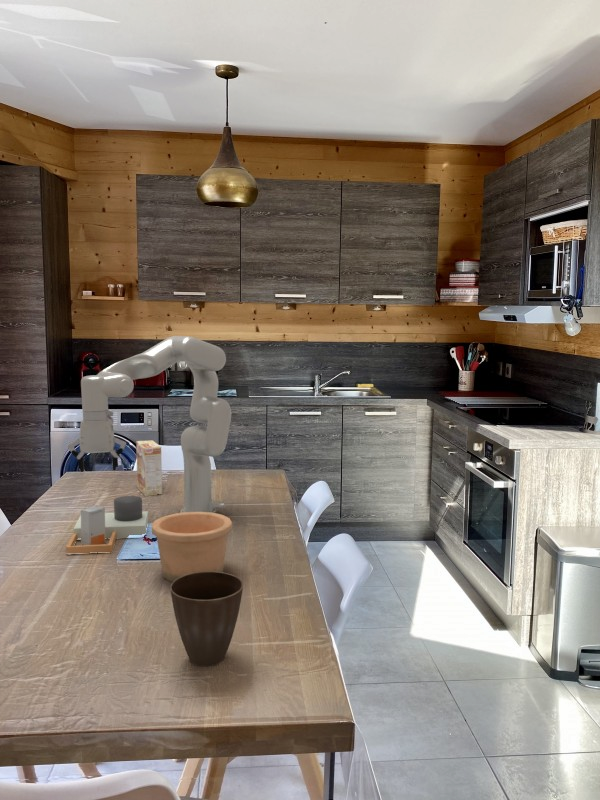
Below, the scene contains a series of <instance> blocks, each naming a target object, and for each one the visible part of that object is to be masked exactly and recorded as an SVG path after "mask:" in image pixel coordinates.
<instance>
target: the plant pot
mask: <svg viewBox="0 0 600 800" xmlns="http://www.w3.org/2000/svg"><path fill="white" fill-rule="evenodd" d="M169 587H170V588H169V589H170V595H171V596H170V597H171V600H172V601H171V602H172V606H173V607H172V608H173V613H174V617H175V622H176V624H177V625H176V626H177V629H178V631H179V635H180V639H181V642H182V645H183V647H184V649H185V652H186V655H187V657H188V659H189V661H190V662H191V663H192V664H194V665H195V666H200V667H210V666H211V667H212V666H215V665H218V664H220V663H222V662H223V661H224V659H225V657H226V655H227V652H228V649H229V647H230V645H231V641H232V638H233V635H234V632H235V630H236V629H235V628H236V625H237V621H238V616H239V613H240V612H239V611H240V609H241V608H240V607H241V603H242V596H243V590H244V582H243V581H242V579H241V578H240V577H238V576H236V575H234V574H232V573H227V572H224V571H223V572H197V573H191V574H188V575H184V576H182V577H180V578H178V579H176V580H175V581H174V582H171V584H170V585H169Z"/></svg>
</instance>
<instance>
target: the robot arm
mask: <svg viewBox="0 0 600 800" xmlns="http://www.w3.org/2000/svg"><path fill="white" fill-rule="evenodd" d="M178 362H184V363H185V364H186V366H188V368H189V369H190V372H191V373H192V376H193V379H194V380H193V381H194V385H193V391H192V397H191V402H190V409H189V415H190V418H191V419H192V420H193V421H194V422H196V423H200V424H206V427H204V426H199V425H198V426H197V425H192V426H187V428H185V429H184V430H183V431H182V433H181V436H180V445H181V446H180V447H181V450H182V451H181V452H182V457H183V458H182V459H183V482H184V484H183V486H184V487H183V489H184V497H183V498H184V508H182V509H181V510H180V512H179V513H183V512H211V513H216V514H217V510H218V509H219V510H220V509H221V510H223V509H225V503H224V502H222V503H221V501H219V502H215V501H213V498H212V463H211V459H210V457H212V458H215V457H216V458H217V457H219V456H221V455H222V454H223V453H224V451H225V449H226V447H227V443H228V437H229V432H230V427H231V421H232V410H231V405H230V403H229V402H228V401H227V400H226V399H223V398H220V397H218V393H219V392H218V391H219V377H218V375H217V371H220V370H222V369H223V368H224V366H225V365H226V362H227V356H226V352H225V351H224V350H223V348H221V347H219V346H217V345H215V344H212V343H209V342H207V341H204V340H202V339H199V338H196V337H194V336H189V335H172V336H169V337H167V338H165V339H164V340H162V341H160V342H159V343H156V344H155V345H154V346H151V347H150V348H148V349H147V350H145V351H142V353H138V354H136V355H133V356H130V357H128V358H125V359H123V360H119V361H117V362H115V363H112V364H111V365H110V366H108V367H105V368H104V369H103V370H101V371H99V372H98V373H97V374H96V375H94V374H93V375H86V376H83V377H82V378H81V380H80V388H81V389H80V390H81V406H82V407H81V408H82V419H81V420H80V425H79V426H80V427H79V438H78V439H76V440H74V441H72V442H71V443H69V444H68V445H67V448H68V449H69V451H70V452H71V455H73V456H74V457H75V458H76V459H77V463H78V464H77V465H78V469H80V473H83V472H84V471H85V458H84V455H85V454H95V453H99V454H100V453H110V455H111V456H112V471H116V469H117V468H118V466H119V460H118V457H120V455H121V454H122V453H123V451H124V449H125V447H126V445H127V442H126V441H124V440H121V439H119V438H117V437H115V432H114V426H113V420H112V419H111V418H110V417H113V416H114V411H111V410H109V403H108V402H109V400H108V398H109V399H110V398H115V399H116V398H117V399H118V398H125V397H128V396H129V395H130V394H131V393H132V392H133V391H134V385H135V384H134V380H138V379H147V378H151V377H152V378H153V377H155V376H157V375H160V374H161V373H162V372H163V371H166V370H167V369H168V368H170V367H171V366H174V365H175V364H176V363H178ZM115 444H118V445H119V446H120V447H119V449H117V450H116V449H115V446H116V445H115ZM78 445H79V451H80V452H78V451H77V449H75V447H76V446H78ZM216 509H217V510H216Z"/></svg>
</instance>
